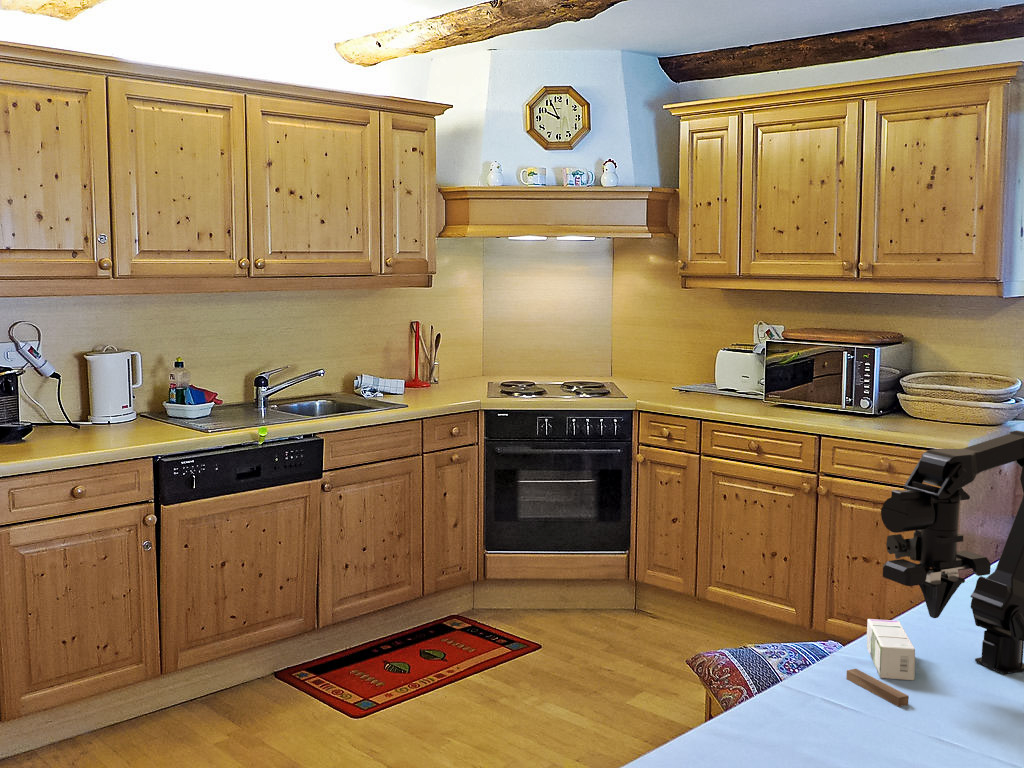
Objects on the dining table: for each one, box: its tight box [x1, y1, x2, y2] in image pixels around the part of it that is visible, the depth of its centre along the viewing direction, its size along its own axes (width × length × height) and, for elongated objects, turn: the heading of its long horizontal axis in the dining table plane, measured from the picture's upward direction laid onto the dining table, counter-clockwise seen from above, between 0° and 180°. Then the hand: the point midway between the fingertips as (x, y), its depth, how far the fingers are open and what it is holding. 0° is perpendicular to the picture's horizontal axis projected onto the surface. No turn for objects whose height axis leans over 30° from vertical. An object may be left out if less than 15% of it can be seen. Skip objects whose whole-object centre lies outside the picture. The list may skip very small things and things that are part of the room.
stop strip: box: [845, 668, 910, 708], centre depth 171 cm, size 2×12×2 cm, turn 23°
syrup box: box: [866, 618, 916, 681], centre depth 182 cm, size 6×6×14 cm
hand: (933, 617), depth 174 cm, fingers closed
